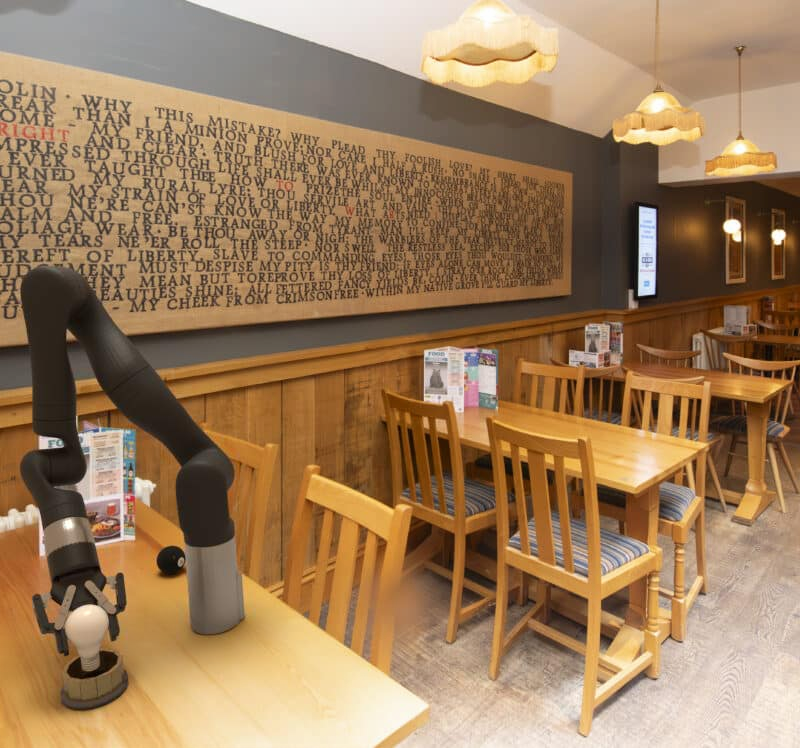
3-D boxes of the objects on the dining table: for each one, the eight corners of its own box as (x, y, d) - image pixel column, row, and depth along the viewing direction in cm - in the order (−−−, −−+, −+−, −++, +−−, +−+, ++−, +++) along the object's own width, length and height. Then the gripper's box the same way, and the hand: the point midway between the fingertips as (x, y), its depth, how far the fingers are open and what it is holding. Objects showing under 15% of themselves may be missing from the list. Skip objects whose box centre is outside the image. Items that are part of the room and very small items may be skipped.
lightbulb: (96, 684, 102) (90, 619, 100) (60, 679, 103) (53, 615, 101) (120, 660, 108) (115, 599, 106) (86, 656, 109) (81, 595, 108)
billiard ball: (172, 580, 143) (170, 554, 142) (152, 575, 145) (149, 550, 144) (192, 568, 148) (190, 543, 147) (171, 564, 151) (169, 539, 150)
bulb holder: (114, 663, 113) (111, 639, 113) (139, 688, 106) (136, 663, 106) (51, 690, 106) (48, 665, 106) (74, 719, 99) (71, 692, 99)
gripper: (22, 552, 104) (40, 655, 97) (118, 530, 113) (141, 624, 105) (22, 570, 110) (39, 670, 102) (113, 548, 118) (135, 639, 110)
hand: (90, 646), depth 104 cm, fingers closed on lightbulb, 6 cm apart
